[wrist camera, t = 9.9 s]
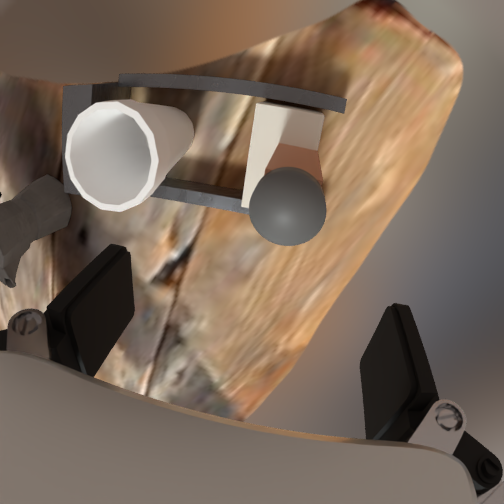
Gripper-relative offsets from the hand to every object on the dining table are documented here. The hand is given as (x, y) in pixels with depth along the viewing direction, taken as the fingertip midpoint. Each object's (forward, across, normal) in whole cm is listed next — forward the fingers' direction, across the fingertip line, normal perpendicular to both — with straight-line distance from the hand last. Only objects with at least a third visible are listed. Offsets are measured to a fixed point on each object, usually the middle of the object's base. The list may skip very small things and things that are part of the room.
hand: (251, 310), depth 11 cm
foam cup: (+26, +14, -1) cm, 30 cm away
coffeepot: (+27, +34, +10) cm, 45 cm away
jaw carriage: (+26, +1, -1) cm, 26 cm away
